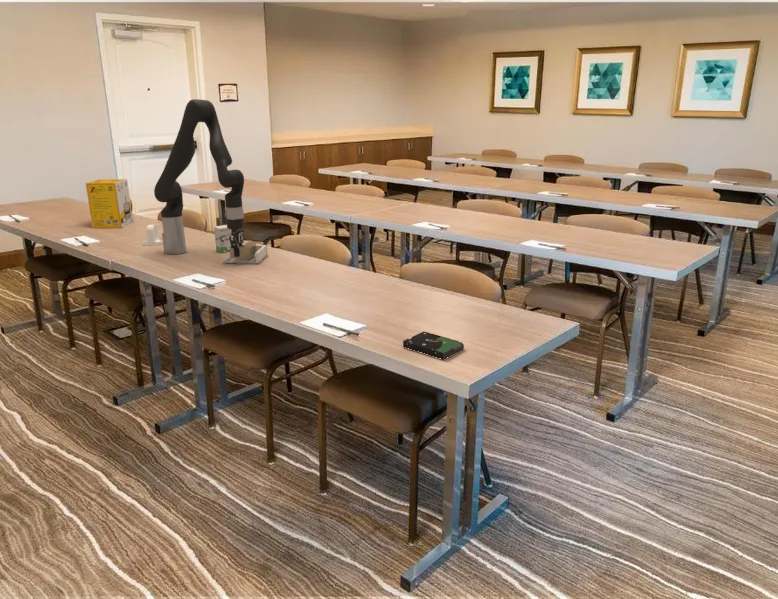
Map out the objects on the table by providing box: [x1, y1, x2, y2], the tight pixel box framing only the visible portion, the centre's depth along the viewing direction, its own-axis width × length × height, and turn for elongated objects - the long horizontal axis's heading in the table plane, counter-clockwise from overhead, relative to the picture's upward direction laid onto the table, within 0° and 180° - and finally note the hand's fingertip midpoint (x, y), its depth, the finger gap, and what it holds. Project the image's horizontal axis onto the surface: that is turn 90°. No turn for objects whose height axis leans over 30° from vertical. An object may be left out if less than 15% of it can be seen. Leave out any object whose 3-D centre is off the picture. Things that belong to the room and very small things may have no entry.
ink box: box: [213, 224, 235, 253], centre depth 294 cm, size 8×5×12 cm, turn 129°
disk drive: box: [402, 330, 465, 360], centre depth 181 cm, size 10×3×15 cm
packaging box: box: [85, 178, 134, 229], centre depth 350 cm, size 16×16×25 cm
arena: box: [222, 244, 268, 265], centre depth 278 cm, size 16×15×5 cm
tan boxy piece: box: [229, 241, 257, 258], centre depth 277 cm, size 9×10×5 cm
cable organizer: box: [142, 224, 163, 246], centre depth 307 cm, size 5×10×10 cm, turn 84°
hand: (238, 255), depth 275 cm, fingers closed on tan boxy piece, 4 cm apart
